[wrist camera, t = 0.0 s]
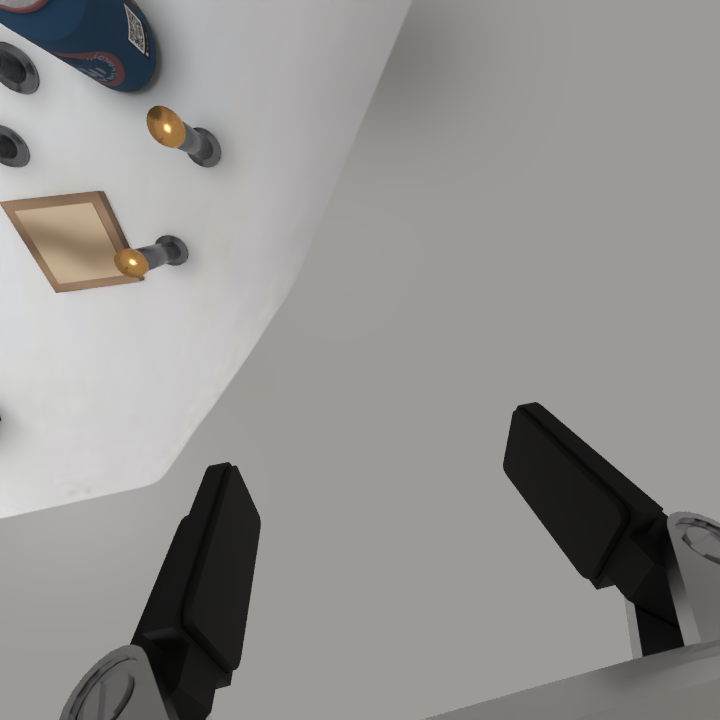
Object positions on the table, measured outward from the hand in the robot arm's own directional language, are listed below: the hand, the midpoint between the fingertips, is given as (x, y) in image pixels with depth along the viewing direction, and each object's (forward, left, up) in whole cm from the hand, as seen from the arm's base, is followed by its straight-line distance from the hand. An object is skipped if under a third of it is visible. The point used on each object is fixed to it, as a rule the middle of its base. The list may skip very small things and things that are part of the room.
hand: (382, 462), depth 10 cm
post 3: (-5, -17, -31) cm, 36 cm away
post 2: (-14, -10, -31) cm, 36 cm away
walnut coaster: (-7, -26, -31) cm, 41 cm away
